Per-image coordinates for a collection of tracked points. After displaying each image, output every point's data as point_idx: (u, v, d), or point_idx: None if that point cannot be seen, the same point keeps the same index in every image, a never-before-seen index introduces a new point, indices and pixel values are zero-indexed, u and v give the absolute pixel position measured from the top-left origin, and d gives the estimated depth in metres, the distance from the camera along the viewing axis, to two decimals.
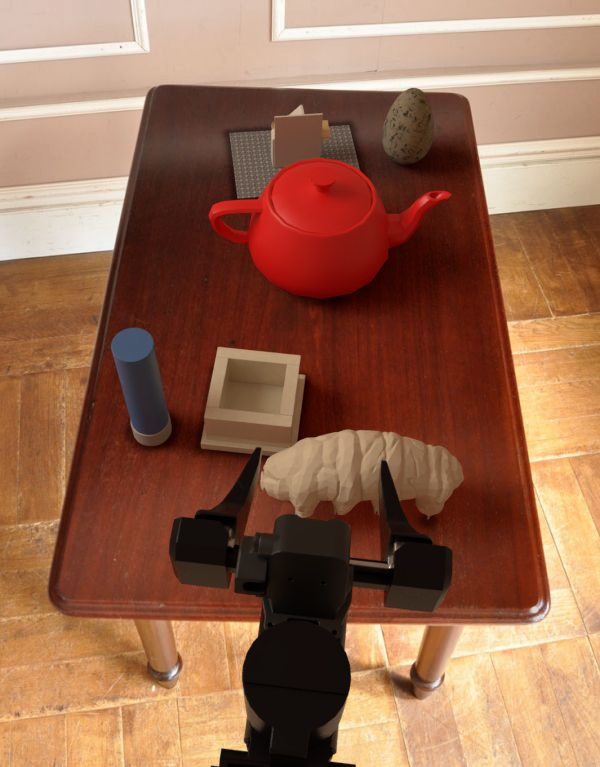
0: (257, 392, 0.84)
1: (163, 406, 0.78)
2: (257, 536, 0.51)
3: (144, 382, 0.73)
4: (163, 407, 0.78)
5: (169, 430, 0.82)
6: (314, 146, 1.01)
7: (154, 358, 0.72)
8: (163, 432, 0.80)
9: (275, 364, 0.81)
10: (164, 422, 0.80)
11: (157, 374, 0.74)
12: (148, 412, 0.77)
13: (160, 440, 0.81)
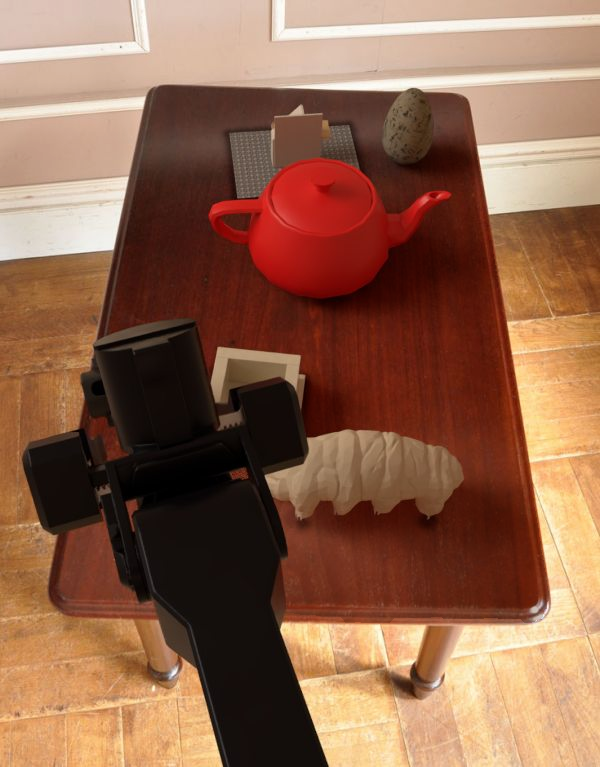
0: None
1: None
2: (93, 358, 0.54)
3: None
4: None
5: None
6: (314, 146, 1.01)
7: None
8: None
9: (275, 364, 0.81)
10: None
11: None
12: None
13: None
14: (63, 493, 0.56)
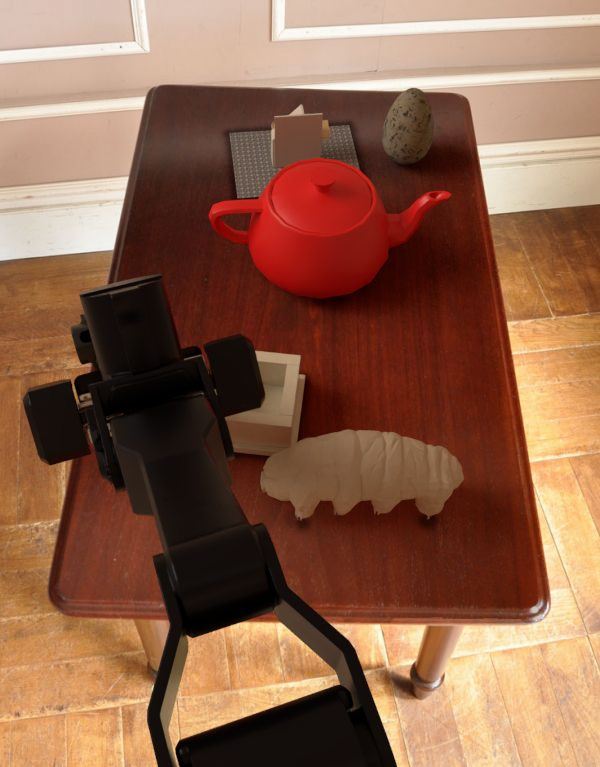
0: None
1: None
2: (81, 314, 0.66)
3: None
4: None
5: None
6: (314, 146, 1.01)
7: None
8: None
9: (275, 364, 0.81)
10: None
11: None
12: None
13: None
14: (57, 428, 0.67)
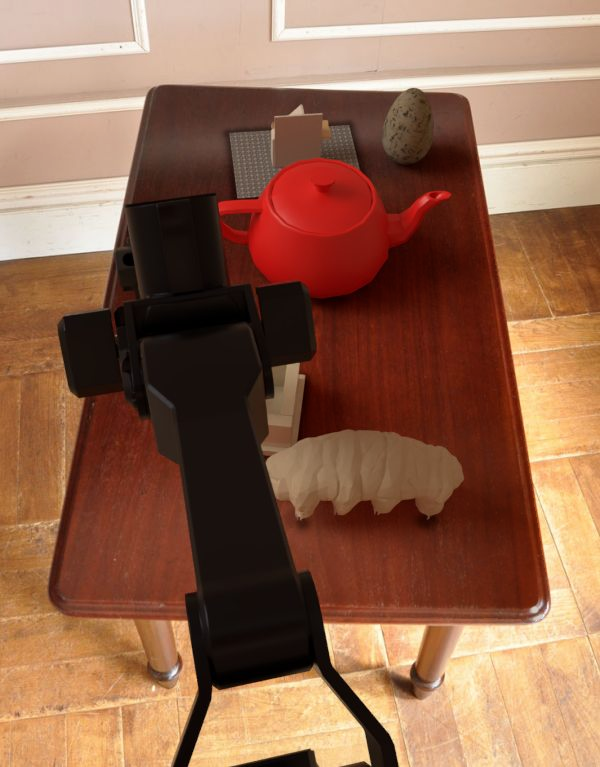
0: None
1: None
2: (128, 237, 0.61)
3: None
4: None
5: None
6: (314, 146, 1.01)
7: None
8: None
9: None
10: None
11: None
12: None
13: None
14: (90, 358, 0.62)
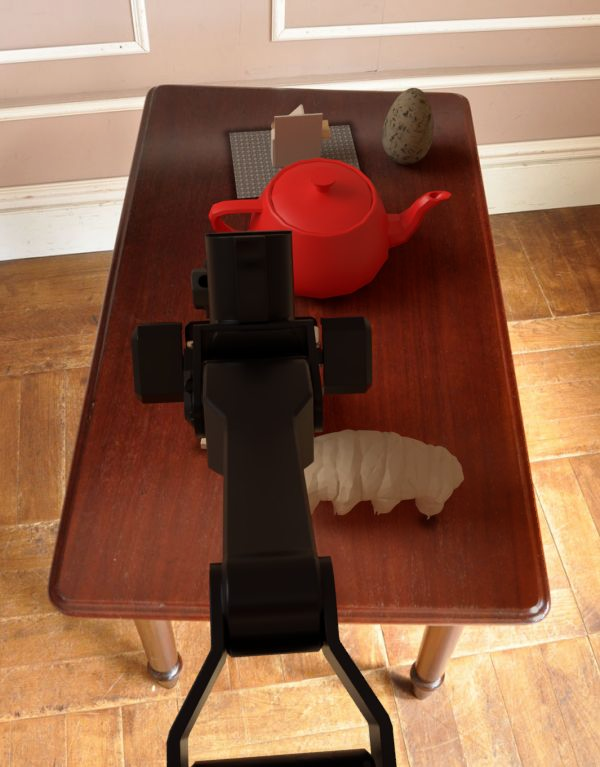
0: None
1: None
2: (206, 259, 0.64)
3: None
4: None
5: None
6: (314, 146, 1.01)
7: None
8: None
9: None
10: None
11: None
12: None
13: None
14: (158, 368, 0.66)
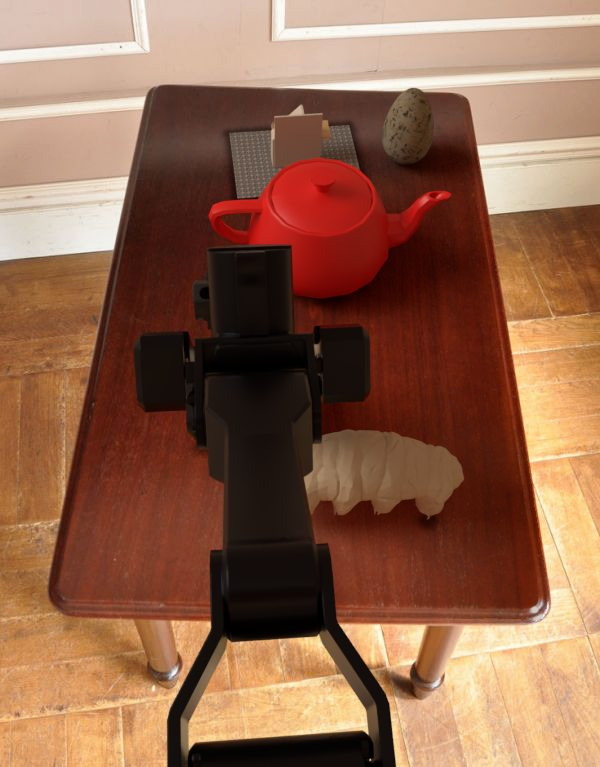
0: None
1: None
2: None
3: None
4: None
5: None
6: (314, 146, 1.01)
7: None
8: None
9: None
10: None
11: None
12: None
13: None
14: (160, 377, 0.67)
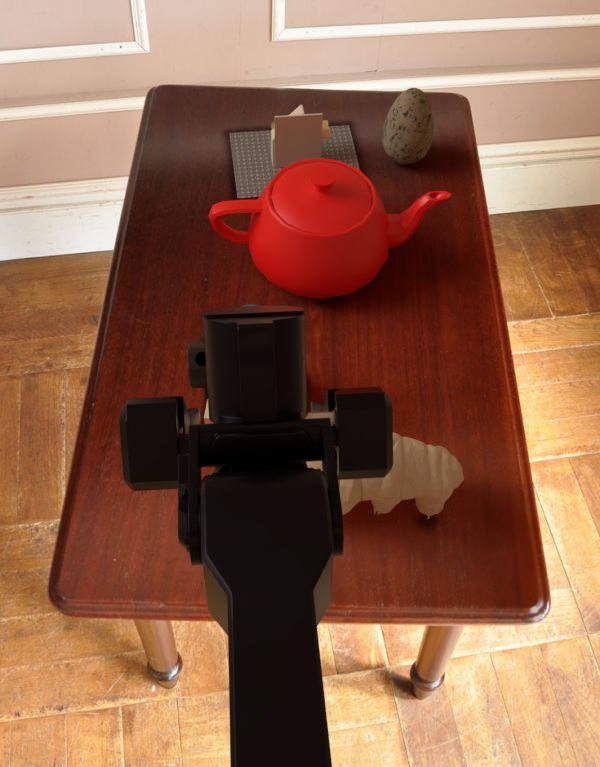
0: None
1: None
2: (204, 330, 0.56)
3: None
4: None
5: None
6: (314, 146, 1.01)
7: None
8: None
9: None
10: None
11: None
12: None
13: None
14: (150, 453, 0.58)
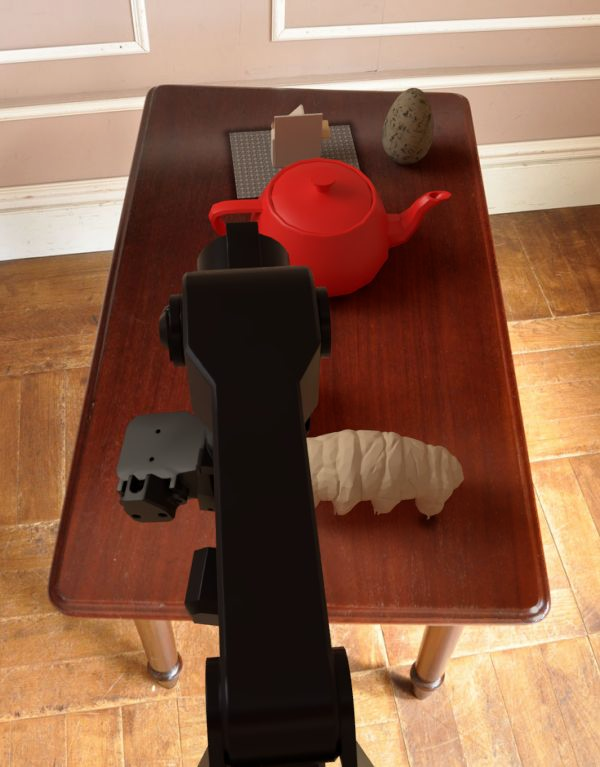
0: None
1: None
2: (119, 501, 0.53)
3: None
4: None
5: None
6: (314, 146, 1.01)
7: None
8: None
9: None
10: None
11: None
12: None
13: None
14: None
